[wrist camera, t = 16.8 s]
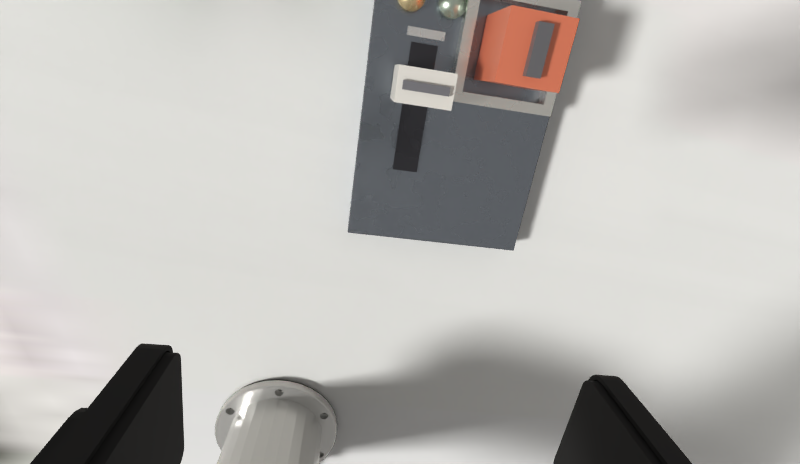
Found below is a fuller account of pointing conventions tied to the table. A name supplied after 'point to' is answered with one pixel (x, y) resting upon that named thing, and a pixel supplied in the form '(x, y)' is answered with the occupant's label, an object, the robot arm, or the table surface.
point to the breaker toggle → (423, 87)
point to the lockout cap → (525, 48)
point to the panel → (446, 131)
